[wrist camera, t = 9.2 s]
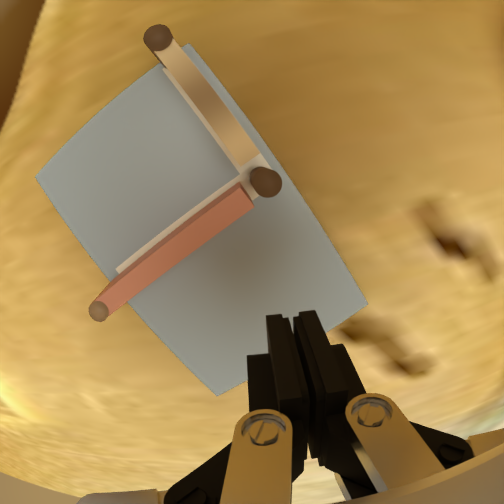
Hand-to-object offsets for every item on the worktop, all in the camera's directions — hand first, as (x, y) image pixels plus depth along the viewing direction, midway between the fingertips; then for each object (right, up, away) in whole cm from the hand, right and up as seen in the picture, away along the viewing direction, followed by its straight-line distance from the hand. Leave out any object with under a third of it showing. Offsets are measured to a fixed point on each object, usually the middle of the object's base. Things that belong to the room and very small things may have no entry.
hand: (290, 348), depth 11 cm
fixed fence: (-4, +12, +8) cm, 14 cm away
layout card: (-5, +4, +10) cm, 12 cm away
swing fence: (-6, +4, +10) cm, 12 cm away
